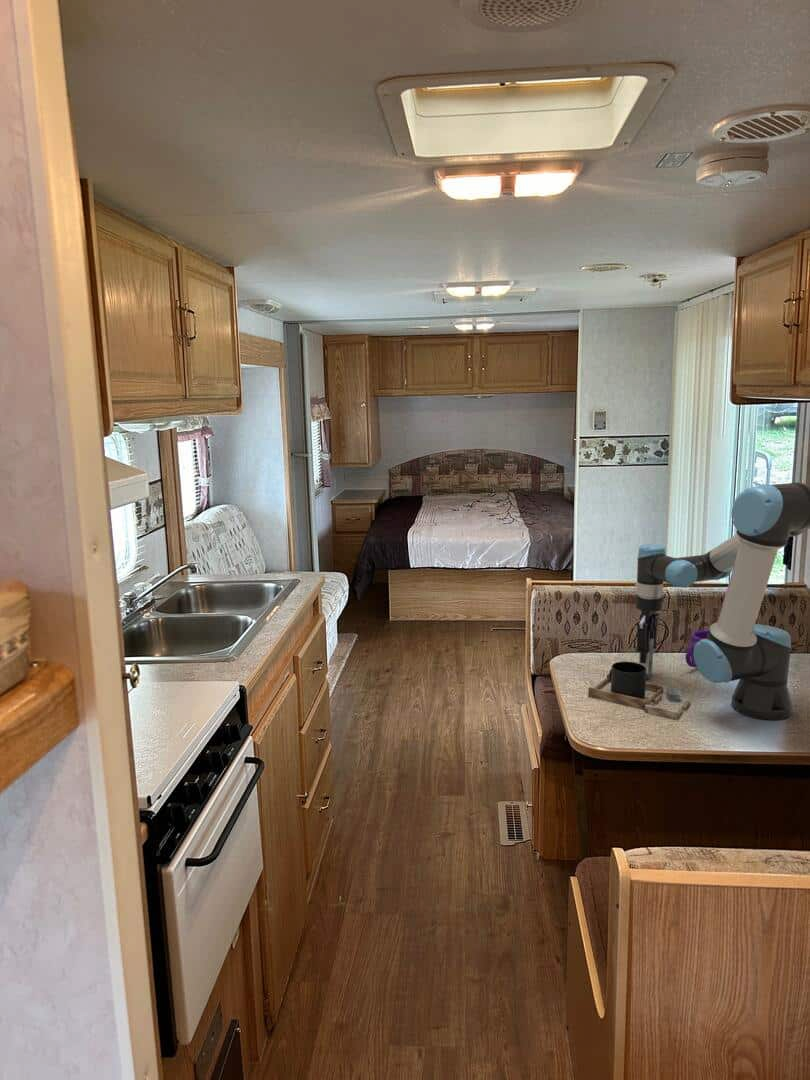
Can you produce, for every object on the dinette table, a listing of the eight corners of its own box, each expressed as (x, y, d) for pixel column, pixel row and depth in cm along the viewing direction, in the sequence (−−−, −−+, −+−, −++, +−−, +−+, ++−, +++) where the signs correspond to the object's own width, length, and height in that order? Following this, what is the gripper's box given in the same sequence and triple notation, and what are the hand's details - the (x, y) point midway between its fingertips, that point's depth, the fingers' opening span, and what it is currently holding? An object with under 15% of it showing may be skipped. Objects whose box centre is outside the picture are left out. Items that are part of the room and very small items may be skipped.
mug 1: (620, 685, 228) (622, 656, 227) (652, 699, 218) (653, 669, 217) (597, 692, 224) (598, 662, 222) (627, 706, 214) (629, 675, 212)
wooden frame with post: (674, 681, 232) (676, 642, 229) (645, 709, 211) (647, 668, 209) (620, 669, 241) (622, 633, 239) (588, 696, 221) (589, 656, 219)
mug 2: (702, 656, 252) (704, 627, 250) (734, 666, 243) (737, 636, 241) (669, 668, 242) (671, 637, 240) (702, 678, 233) (704, 647, 231)
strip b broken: (694, 699, 218) (695, 692, 218) (677, 719, 205) (677, 712, 204) (664, 692, 223) (664, 686, 223) (644, 712, 210) (645, 705, 209)
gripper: (645, 588, 239) (641, 660, 243) (627, 600, 226) (624, 676, 231) (670, 591, 235) (666, 665, 239) (653, 604, 222) (649, 681, 226)
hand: (645, 670), depth 235 cm, fingers closed on wooden frame with post, 3 cm apart
